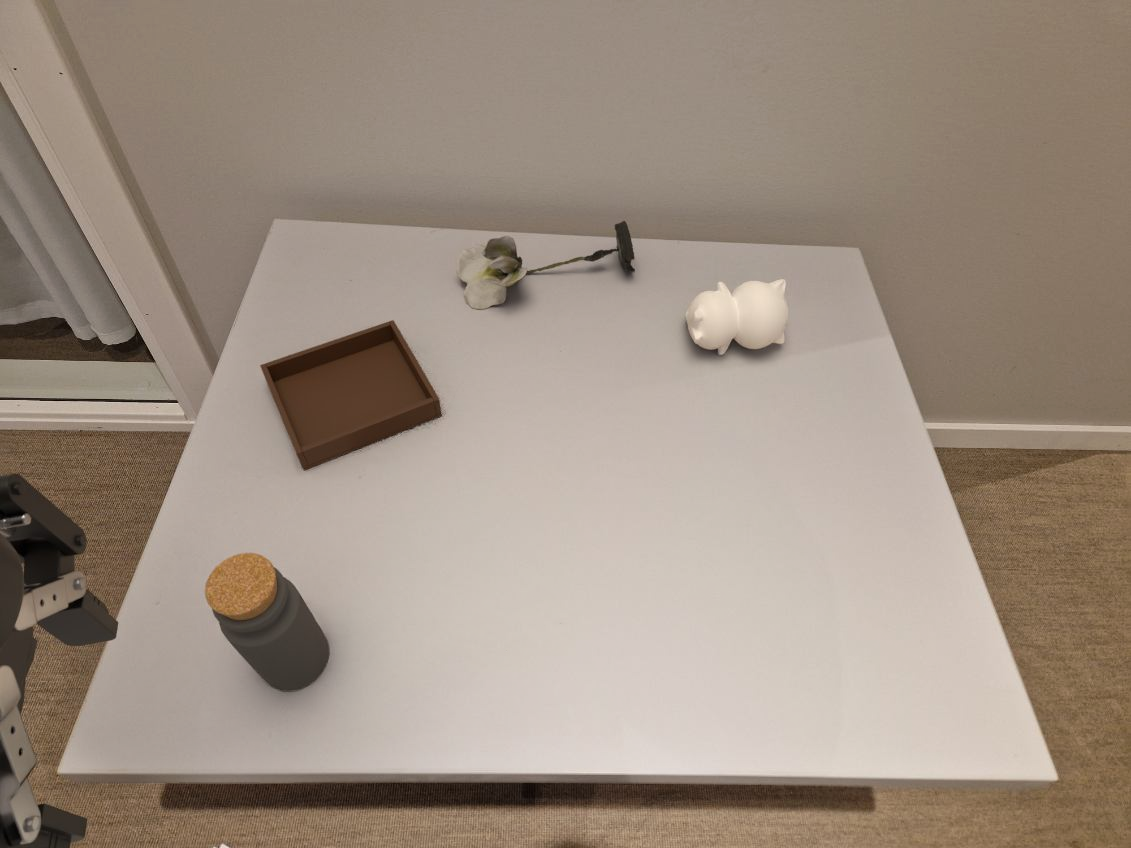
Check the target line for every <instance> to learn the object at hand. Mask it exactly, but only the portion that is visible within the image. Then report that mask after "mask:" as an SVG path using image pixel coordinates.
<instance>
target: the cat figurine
mask: <svg viewBox="0 0 1131 848" xmlns="http://www.w3.org/2000/svg"><path fill="white" fill-rule="evenodd" d="M786 284H787V281H786V279H784V278H782V279H777V280H773V281H771V282H765V281H761V280H749V281H745V282H743V283H740V284H739V285H738V286H737V287H736V288H735V289H734V290H733V291H732V292H731V291H730V290H729V288H728V287H727V286H726V284H725V283H724V282H722V281H718V282H717V283H716V290H704V291H702V292H700V293H699V294H697V295H696V296H695V297H694V298H693V300H692V301H691V303H690V304H689V306H688V309H687V311H686V312H685V315H684V319H685V321H686V322H687V329H688V330H687V331H688V333H689V335H690V338H691V340H693V342H694V344H695V345H697V346H699V347H701V348H702V349H705V350H717V354H718V355H719V356H723V355H724V354H725V353H726V352H727V350H728V348H729V347H730V344H731V342H732V341H733V340H734V341H735V342H736V343H737V344H739V345H740V346H742V347H743V348H745V349H750V350H759V349H762V348H765V347H768V346H769V345H772V344H778V345H781V344H784V343H785V339H786V338H785V333H784V331H785V328H786V326H787V324H788V320H789V306H788V303H787V301H786V298H785V291H786Z"/></svg>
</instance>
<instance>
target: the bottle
mask: <svg viewBox="0 0 1131 848" xmlns="http://www.w3.org/2000/svg"><path fill="white" fill-rule="evenodd" d="M204 595H205V599H206V602H207V604H208V606H209V607H210V608H211V610H212V614H213V616H214V618H215V619H216V620H217V621H218V624H219V625H218V626H219V628H220V631H221V633H222V635H223V636H224V637H225V639H226V641H228V643H230V644H231V646H232V647H233V648H234V649H235V650H236V652H237V653H238V654H239V655H240V656H241V657H242V658H243V660H245V661H246V663H247V664H248V665H249V666H250V667H251V668H252V670H254V672H255V673H256V674H257V675H258V676H259V677H260V678H261V679H262V680H263V681H264V682H265V683H266V684H267V685H268V686H270V687H271V688H273V689H275V690H278V691H281V692H295V691H299V690H302V689H304V688H306V687H308V686H310V685H311V684H313V683H314V682H315V681H316V680H318V678H319V677H320V676H321V675H322V674H323V672H324V671H325V669H326V667H327V666H328V662H329V658H330V646H329V645H330V644H329V642H328V639H327V637H326V635H325V633H324V631H323V630H322V628H321V626H320V625H319V623H318V621H317V619H316V618H315V616H314V614H313V613H312V611H311V610H310V608H309V606H308V604H307V602H306V601H305V600H304V598H303V596H302V594H301V593H300V592H299V590H298V589H297V587H296V586H295V585H294V584H293V582H292V581H291V580H289V579H288V578H287V577H285V576H284V575H283V573H282V572H280V570H279V569H277V567H275V566H274V565H273V563H272V562H271V561H270V560H269V559H268V558H267V557H265V556H263V555H261V554H259V553H256V552H255V553H254V552H241V553H238V554H235V555H234V554H233V555H231V556H230V557H227V558H225V559H224V560H222V561H221V562H219V564H217V565H216V567H214V569H213V570H212V571H211V572H210V573H209V576H208V577H207V580H206V583H205V589H204Z"/></svg>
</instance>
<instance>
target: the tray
mask: <svg viewBox="0 0 1131 848" xmlns="http://www.w3.org/2000/svg"><path fill="white" fill-rule="evenodd" d="M259 366H260V369H261V371H262V374H263V377H264V378H265V379H264V380H265V381H266V383H267V386H268V388H269V389H268V390H269V391H270V393H271V395H272V398H273V401H274V403H275V405H276V408H277V411H278V413H279V415H280V418H281V420H282V423H283V426H284V427H285V429H286V430H285V431H286V433H287V434H288V437H289V439H290V442H291V445H292V447H293V449H294V452H295V454H296V456H297V459H298V461H299V463H300V466H301V468H302V470H303V471H306V470H308V469H311V468H314V467H316V466H319V465H322V464H324V463H327V462H329V461H331V460H334V459H337V458H339V457H342V456H344V455H347V454H349V453H352V452H354V451H355V452H356V451H357V450H360V449H362V448H365V447H367V446H369V445H372V444H375V443H377V442H379V441H382V440H384V439H388V438H391V437H392V436H396V435H398V434H400V433H403V432H405V431H408V430H411V429H413V428H415V427H418V426H420V425H423V424H425V423H428V422H431V421H434V420H435V419H438V418H440V417H443V414H442V409H441V401H440V397H439V396H438V394H437V392H436V391H435V389H434V387H433V386H432V384H431V382H430V381H429V379H428V377H427V376H426V373H425V372H424V370H423V368H422V367H421V364H420V363H419V362H418V359H417V358H416V356H415V355H414V353H413V351H412V349H411V348H410V346H409V344H408V342H407V340H406V339H405V337H404V336H403V333H402V332H401V330H400V328H399V327H398V325H397V323H396V322H395V320H394V319H392V320H389V321H385V322H382V323H380V324H377V325H374V326H372V327H369V328H366V329H362V330H360V331H357V332H353V333H351V334H348V335H345V336H341V337H339V338H336V339H333V340H330V341H327V342H324V343H322V344H319V345H315V346H312V347H309V348H306V349H303V350H300V351H298V352H294V353H292V354H289V355H286V356H282V357H280V358H277V359H275V360H270V361H267V362H265V363H263V364H260V365H259Z"/></svg>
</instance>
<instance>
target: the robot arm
mask: <svg viewBox="0 0 1131 848" xmlns="http://www.w3.org/2000/svg"><path fill="white" fill-rule="evenodd" d="M87 543H88V542H87V536H86V533H85V531H84V530H83V528H82V527H80V526H79V525H78V524H77V523H76V522H75V521H74V520H73V519H71V518H70V517H69V516H68V515H67V514H66V513H64V511H62V510H61V509H60V508H59V507H58V506H57V505H55V504H54V503H53V502H52V501H51V500H49V499H48V497H46V495H45V496H44V494H43V493H41V492H40V490H38V488H35V487H34V486H33V485H32V484H31V483H30V482H29V481H27V480H26V479H25V478H24V477H23V476H22V475H20V474H19V473H10V474H3V475H0V848H71V843H77V842H81V841H83V840H85V838H86V833H87V832H86V831H87V826H88V818H87V817H84V816H81V815H78V814H75V813H72V812H69V811H67V810H64V809H61V808H58V807H55V806H52V805H50V804H47V803H40V804H38V803H37V799H36V797H35V794H34V792H33V789H32V786H31V783H30V780H29V778H28V777H29V776H30V774H31V773H32V772H33V770H34V769H35V768H36V766H37V764H38V759H37V755H36V753H35V750H34V747H33V745H32V742H31V739H30V736H29V734H28V731H27V729H26V725H25V722H24V720H23V717H22V712H23V707H24V702H25V696H26V695H25V693H26V692H25V691H26V680H27V675H28V673H29V671H30V668H31V666H32V663H33V661H34V659H35V654H36V651H37V646H38V641H39V640H38V639H37V638H35V637H34V626H36V625H37V626H39V627H40V628H41V629H43V630H44V631H46V632H47V633H49V634H50V635H52V637H54V638H55V639H57V640H58V641H60V642H61V643H62V644H64V645H65V646H70V647H82V646H87V645H93V644H99V643H105V642H110V641H114V640H115V639H116V638H117V635H118V629H119V621H118V620H116V619H115V618H114V617H113V616H112V615H111V614H110V610H109V609H108V608H107V606H106V604H105V602H103V601H102V600H101V599H99V597H97V596H96V595H95V594H94V593H93V592H92V591H90V590H89V588H87V585H88V584H87V578H86V575H85V574H84V572H83V571H82V570H81V569H75V568H76V567H75V561H76V560H75V557H76V556H79V555H82V554H84V553H85V551H86V550H87Z"/></svg>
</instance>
